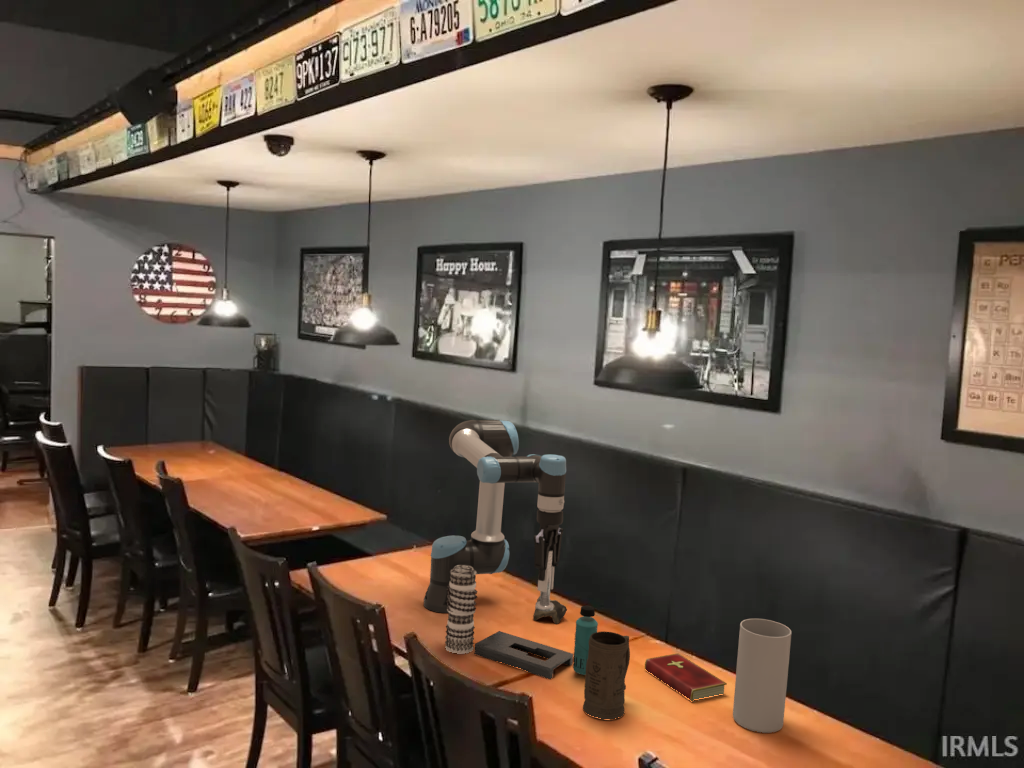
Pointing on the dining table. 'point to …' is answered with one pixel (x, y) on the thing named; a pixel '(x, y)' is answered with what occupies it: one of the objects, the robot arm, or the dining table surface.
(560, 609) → the fossil
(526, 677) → the dining table surface
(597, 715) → the beer stein
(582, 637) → the beverage bottle
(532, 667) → the keyhole plate
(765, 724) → the cylinder vase
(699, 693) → the hardcover book
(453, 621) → the decorative candle
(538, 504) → the robot arm
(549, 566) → the steel peg
